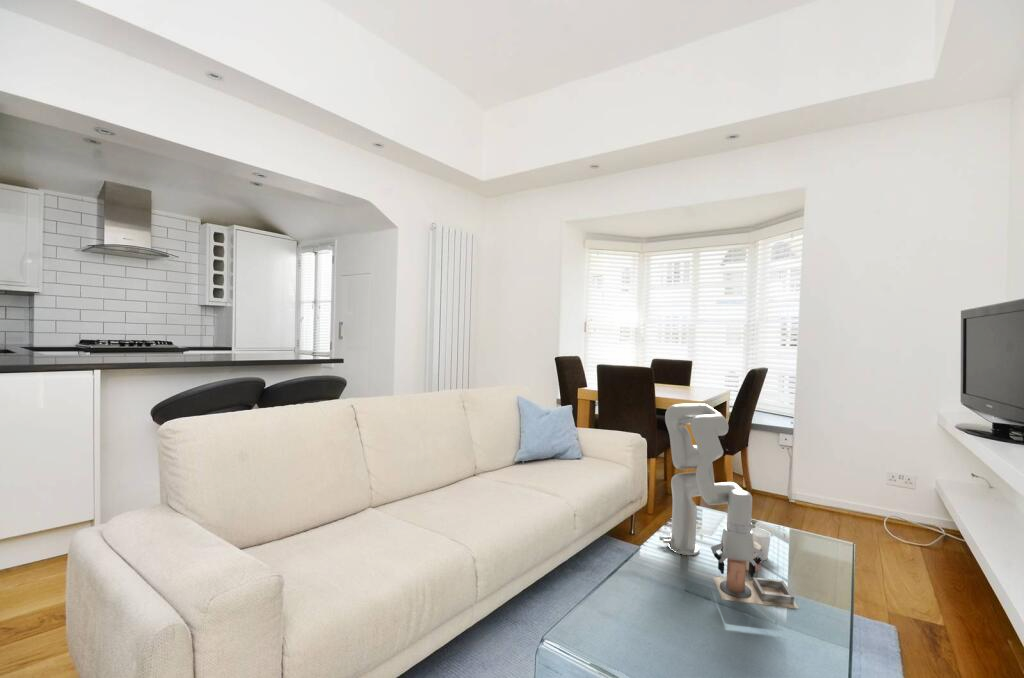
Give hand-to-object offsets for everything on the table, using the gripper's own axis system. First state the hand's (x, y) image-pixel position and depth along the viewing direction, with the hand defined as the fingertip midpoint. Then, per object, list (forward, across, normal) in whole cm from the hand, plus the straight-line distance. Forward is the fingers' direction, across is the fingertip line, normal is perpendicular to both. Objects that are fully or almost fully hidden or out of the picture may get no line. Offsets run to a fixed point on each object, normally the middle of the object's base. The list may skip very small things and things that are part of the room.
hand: (736, 573), depth 170 cm
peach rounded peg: (+5, 0, 0) cm, 5 cm away
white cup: (+7, -16, -29) cm, 34 cm away
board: (+7, -6, 0) cm, 9 cm away
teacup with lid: (+7, -10, -20) cm, 23 cm away
